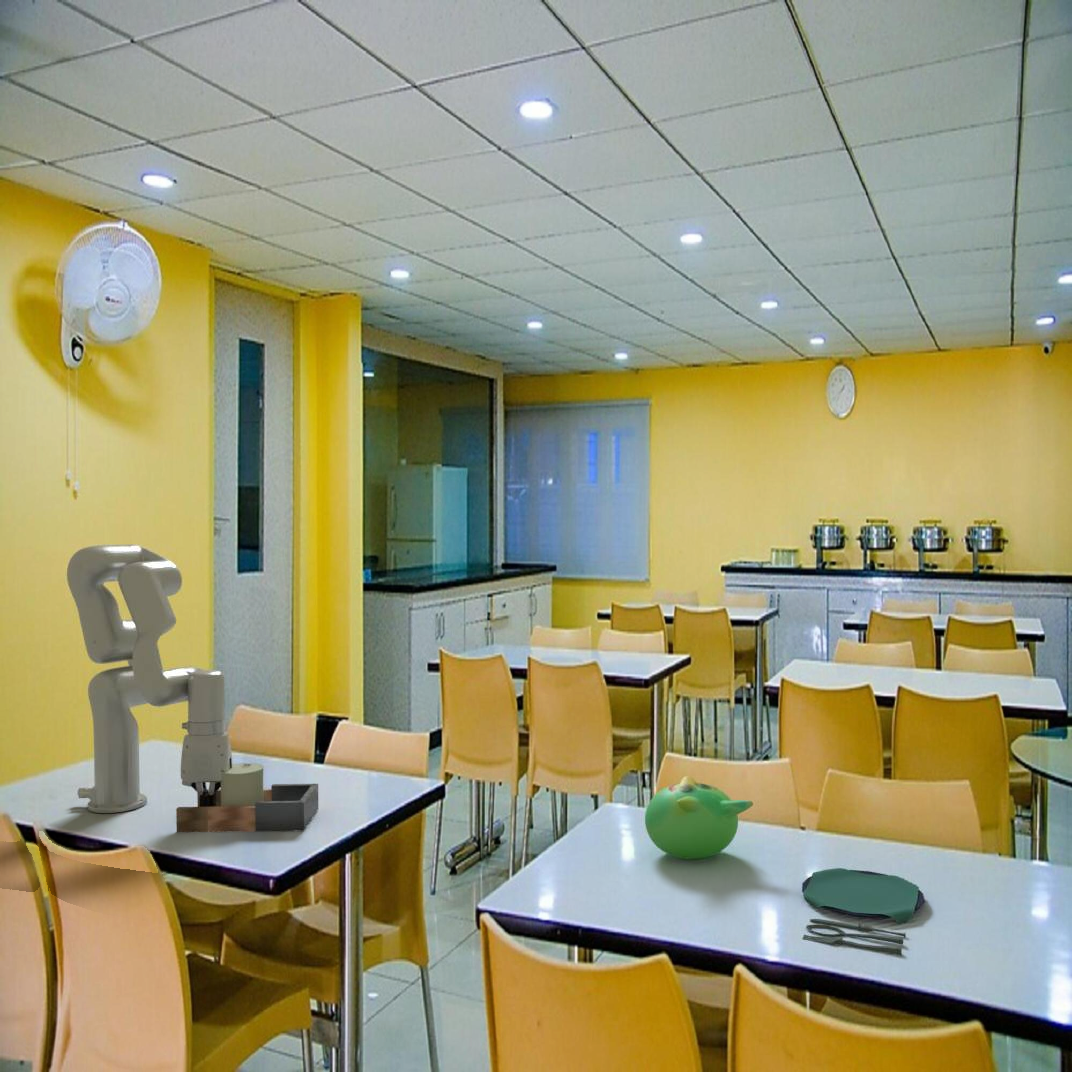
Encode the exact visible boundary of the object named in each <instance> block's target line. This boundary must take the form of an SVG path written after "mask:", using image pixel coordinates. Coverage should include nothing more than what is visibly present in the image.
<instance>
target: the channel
mask: <svg viewBox="0 0 1072 1072" xmlns="http://www.w3.org/2000/svg"><path fill="white" fill-rule="evenodd" d="M207 790H208V791H209V788H207ZM196 800H197V806H178V807H177V808H176V809H175V812H176V814H175V815H176V816H175V817H176V818H175V819H176V833H227V832H228V831H232V832H233V831H245V832H257V831H256V830H255V806H222V807H221V788H219V789H218V790H217V791H216V807H200V795H198V794H197V799H196ZM263 801H272V794H271V788H263ZM208 831H209V832H208ZM213 831H214V832H213ZM218 831H219V832H218ZM221 831H222V832H221ZM223 831H224V832H223ZM226 831H227V832H226ZM232 832H231V833H232ZM228 833H229V832H228ZM233 833H234V832H233Z"/></svg>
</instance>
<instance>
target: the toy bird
mask: <svg viewBox="0 0 1072 1072" xmlns="http://www.w3.org/2000/svg"><path fill="white" fill-rule="evenodd" d="M753 805H754V802H753V801H752V800H749V799H748V800H747V799H736V800H735V799H734V800H731V798H730V797H729V796H728V795H727V794H726V793H725V792H724V791H722V790H721V789H719V788H718V787H715V786H714V785H710V784H707V783H703V782H698V781H697V782H696V780H695V779H694V778H693V777H692V776H691V775H685V776H684V777H682V779H681V780H680V782H679V783H678V782H677V783H675V784H671V785H669V786H666V787H664V788H662V789H661V790H659V791H658V792H657V793H656V794H655V795H654V796H653V797H652V798H651V800H650V801H649V803H648V805H647V807H646V809H645V814H644V824H645V828H646V829H645V830H646V832H647V834H648V836H649V839H650V840H651V841H652V843H653V844H654V845H655V846H656V848H658V849H659V850H660V851H662V852H664V853H666V854H667V855H670V856H672V857H676V858H679V859H684V860H685V859H686V860H699V859H705V858H710V857H712V856H715V855H717V854H719V853H720V852H722V851H724V850H725V849H726V848H727V847H728V846H729V845H730V844H731V842H732V841H733V839H735V836H736V834H737V831H738V828H739V827H738V826H739V818H738V817H739V816H738V815H739V814H742V813H743V812H745V811H747V810H749V809H750V808H751V807H753Z"/></svg>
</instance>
